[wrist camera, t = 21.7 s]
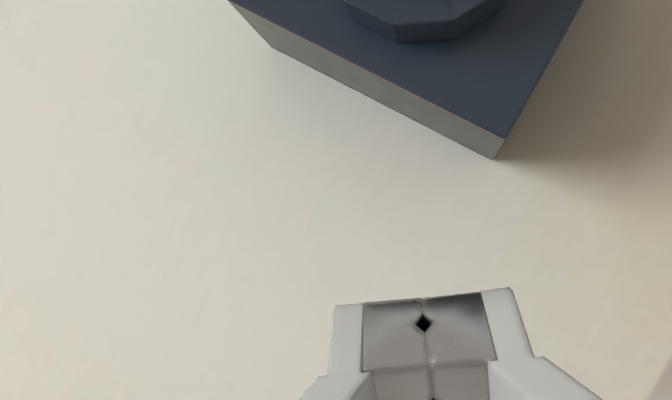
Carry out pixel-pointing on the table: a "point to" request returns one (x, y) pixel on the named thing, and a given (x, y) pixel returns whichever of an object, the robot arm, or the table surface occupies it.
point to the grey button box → (426, 55)
